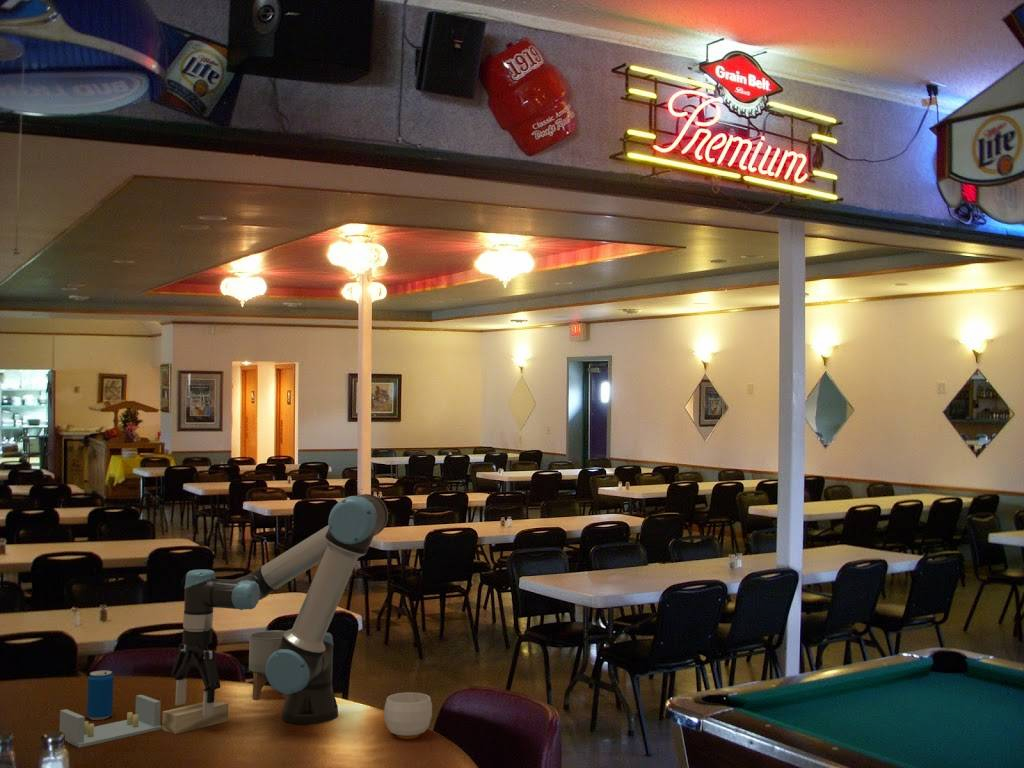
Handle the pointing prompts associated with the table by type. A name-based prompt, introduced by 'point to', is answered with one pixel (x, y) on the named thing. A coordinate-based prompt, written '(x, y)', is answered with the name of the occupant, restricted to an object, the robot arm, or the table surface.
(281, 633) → the planter
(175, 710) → the shelf board
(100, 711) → the beverage can
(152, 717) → the peg frame
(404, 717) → the cup
